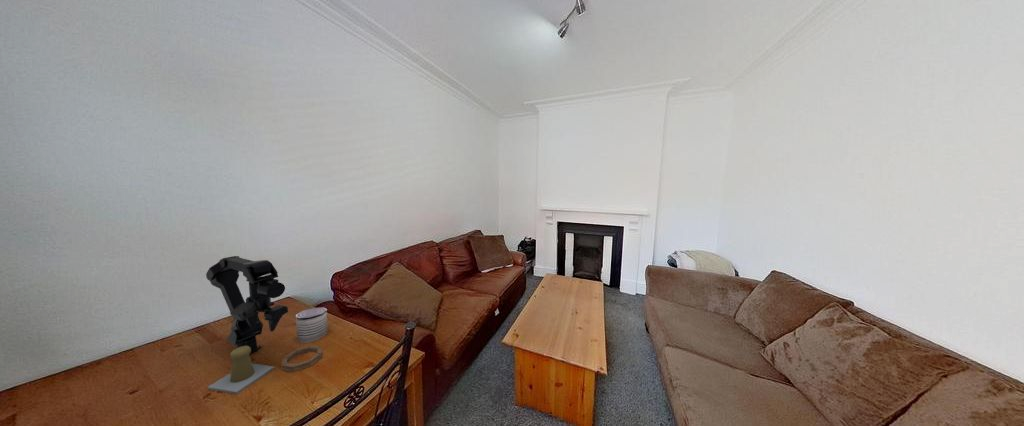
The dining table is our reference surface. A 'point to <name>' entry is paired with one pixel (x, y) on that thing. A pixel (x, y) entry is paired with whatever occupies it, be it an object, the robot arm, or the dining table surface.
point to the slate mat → (237, 387)
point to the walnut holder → (302, 365)
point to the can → (311, 324)
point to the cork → (241, 364)
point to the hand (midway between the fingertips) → (262, 329)
